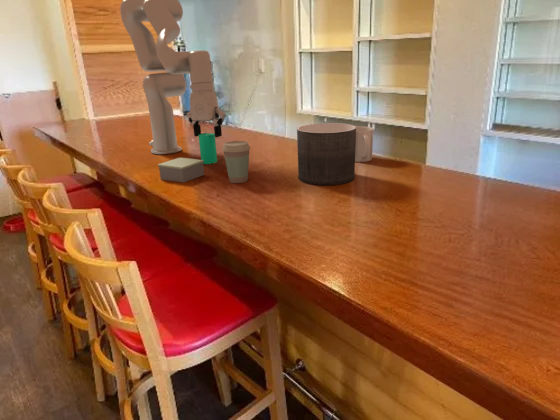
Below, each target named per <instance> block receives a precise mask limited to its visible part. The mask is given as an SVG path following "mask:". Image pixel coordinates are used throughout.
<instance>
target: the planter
mask: <svg viewBox="0 0 560 420" xmlns="http://www.w3.org/2000/svg"><path fill="white" fill-rule="evenodd" d="M356 127H357V126H356V125H353V124H348V123H341V122H340V123H338V122H337V123H336V122H325V123H324V122H322V123H321V122H320V123H308V124H304V125H300V126H298V127H297V128H296V133H297V134H296V135H297V136H296V141H297V143H296V145H297V170H298V171H297V173H298V175H297V178H298V180H299V181H301V182H303V183H304V184H308V185H315V186H336V185H343V184H347V183H350V182H352V181H354V179H355V178H356V177H355V176H356V174H355V172H356V170H355V169H356V162H355V148H356Z"/></svg>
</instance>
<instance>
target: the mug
mask: <svg viewBox="0 0 560 420" xmlns="http://www.w3.org/2000/svg"><path fill="white" fill-rule="evenodd" d="M355 127H356V148H355V163H364V162H369V161H372V159H373V147H374V145H373V143H374V128H373V127H370V126H355Z"/></svg>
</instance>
